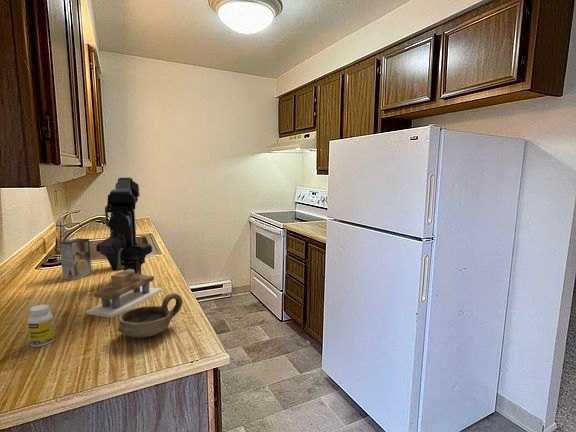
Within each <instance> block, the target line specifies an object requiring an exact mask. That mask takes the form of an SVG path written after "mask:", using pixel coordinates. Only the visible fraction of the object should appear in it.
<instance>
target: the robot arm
mask: <svg viewBox="0 0 576 432" xmlns="http://www.w3.org/2000/svg"><path fill="white" fill-rule="evenodd" d="M114 188H115V189H111V190H110V192H109V194H107V203H106V206H107V213H108V214H109V213H110V214H111V212H112V213H113V216H112V217H111V216H110V217H111V218H109V219H108V222H109V223H108V225H109V227H108V228H109V230H110V229H111V230H112V232H110V233H109V235H110V236H109V237H108V238H105V240H103V241H101V242H97V244H96V246H95V248H96V249H95V250H96V252H99V254H100V255H102V256H104V257H106V260H107V262H109V265H110V267H111V270H112V271H113V272H116V271H118V270H117V264H118V254H119V250H122V252H120V259H121V266H124V270H123V271H125V270H127V269H133V270H134V271H135V274H137V273H138V272H139V275H143V274H142V265H143V264H145V263H146V257H147V255H150V254H151V253H153V247H152V245H151V243H139V242H138V240H137V228H136V215H135V211H136V204H137V202H138V201H139V197H140V186H139V184H138V183H137V182H135V181H134V180H133V178H132V177H119V178H118V179H117V182H116V183H115V187H114ZM110 207H111V210H110Z"/></svg>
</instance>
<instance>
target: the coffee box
mask: <svg viewBox="0 0 576 432" xmlns="http://www.w3.org/2000/svg"><path fill="white" fill-rule="evenodd" d="M59 251H60V252H59V253H60V259H61V260H60V262H61V268H62V269H61V270H62V279H63V280H69V281H77V280H79V279H82V278H84V277H87V276H90V275H92V274H93V272H92V270H93V269H92V261H91V249H90V239H89V238H80V237H79V238H72V239H68V240H65V241H61V242H60V241H59Z"/></svg>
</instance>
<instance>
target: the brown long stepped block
mask: <svg viewBox="0 0 576 432" xmlns="http://www.w3.org/2000/svg"><path fill="white" fill-rule="evenodd" d="M154 280H155V276H154V275H146V274H142V275H139V272H138V273H137V274H135V271H134V270H133V269H127V270H125V271H124V270H121V271H120V272H117V273H114V274H112V275H110V281H111V283H110V284H111V285H109V286H107V287H104V288H101V289H100V290H97V291H95V292H93V298H97V299H101V300H102V299H109V300H112V299H114V298H117V297H119V296H121V295H123V294H125V293H127V292H129V291H132V290H134V289H136V288H138V287H140V286H142V285H145V284H147V283H149V284H150V282H151V283H152V281H154Z"/></svg>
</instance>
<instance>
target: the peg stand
mask: <svg viewBox="0 0 576 432" xmlns="http://www.w3.org/2000/svg"><path fill="white" fill-rule="evenodd" d="M162 291H163V289H162V288H160V287H159V288H158V287H150V282H149V283H147V284H145V285H142V286H140V287H138V288H136V289H134V290H132V291H129V292H127V293H125V294H123V295H121V296H119V297H117V298H114V299H112V300H109V299H102V298H101V303H100V304H97V305H95V306H94V307H92V308H90V309H88V310H85V313H86V315H92V316H97V317H103V318H108V319H112V318H114V317H117V316H118V315H121V314H122V313H123V312H125V311H127V310H130V309H132V308H133V307H135V306H137V305H139V304H141V303H144V301H147V300H148V299H150V298H152V297H154V296H156V295H157V294H160V293H161V292H162Z"/></svg>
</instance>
